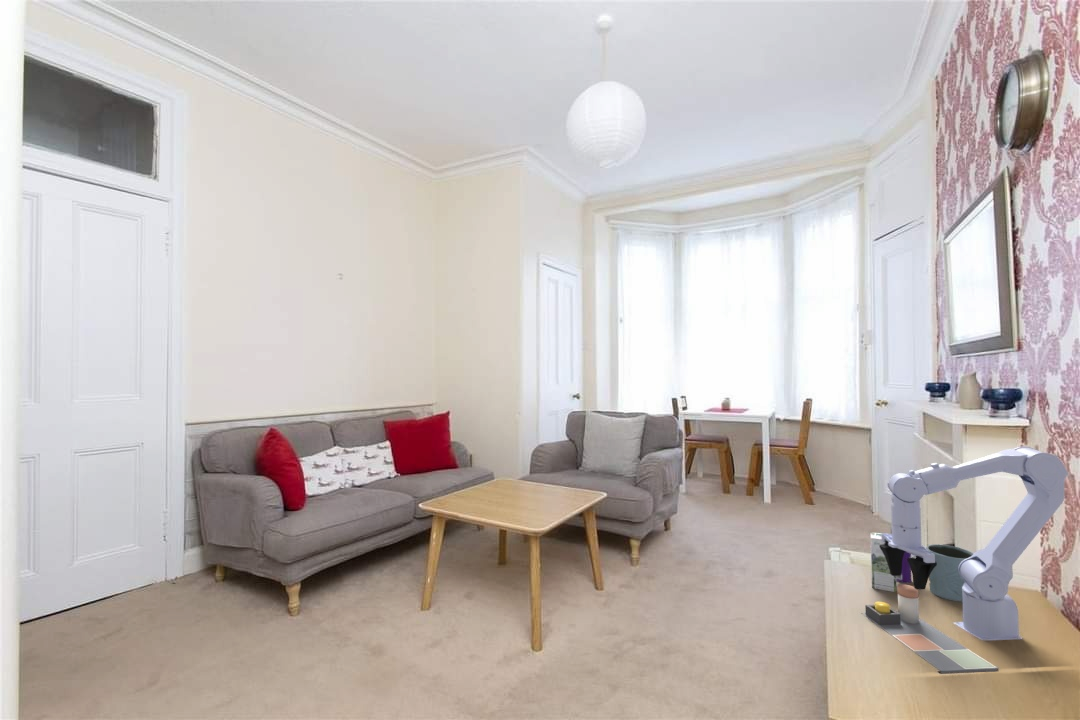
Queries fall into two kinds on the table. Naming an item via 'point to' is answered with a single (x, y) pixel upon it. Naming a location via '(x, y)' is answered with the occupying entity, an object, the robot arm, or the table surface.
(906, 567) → the container
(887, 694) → the table surface
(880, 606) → the button
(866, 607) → the button housing
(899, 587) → the white cylinder
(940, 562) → the teal plant pot
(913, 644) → the colouring board
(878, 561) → the syrup box
